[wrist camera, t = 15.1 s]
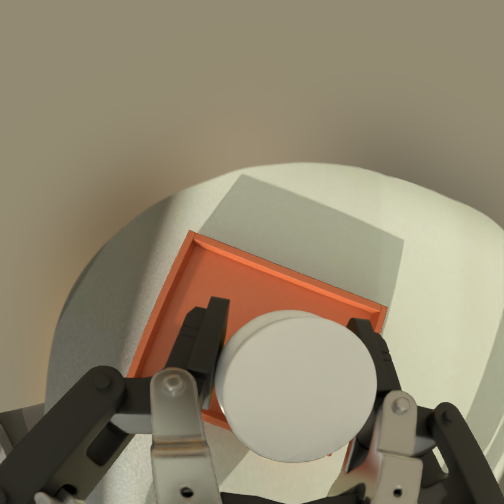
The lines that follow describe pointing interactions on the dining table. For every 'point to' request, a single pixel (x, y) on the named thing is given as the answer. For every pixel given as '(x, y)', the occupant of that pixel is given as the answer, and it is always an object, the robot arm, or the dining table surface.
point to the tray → (236, 301)
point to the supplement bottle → (295, 385)
